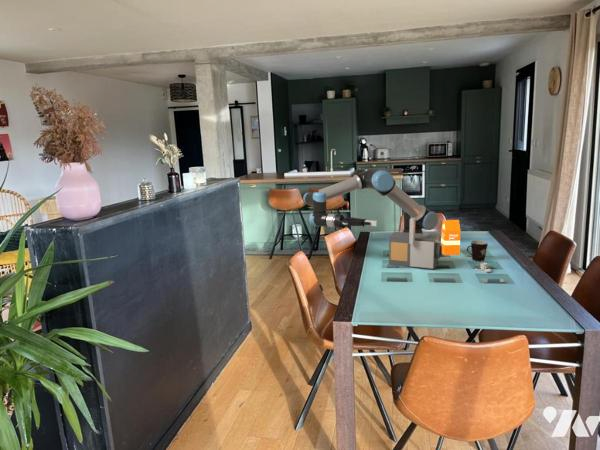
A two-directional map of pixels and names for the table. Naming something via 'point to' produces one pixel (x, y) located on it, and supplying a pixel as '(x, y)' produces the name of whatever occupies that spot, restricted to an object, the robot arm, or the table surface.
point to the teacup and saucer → (484, 267)
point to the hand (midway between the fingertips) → (376, 223)
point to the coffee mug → (478, 250)
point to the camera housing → (401, 248)
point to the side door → (420, 250)
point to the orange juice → (450, 237)
